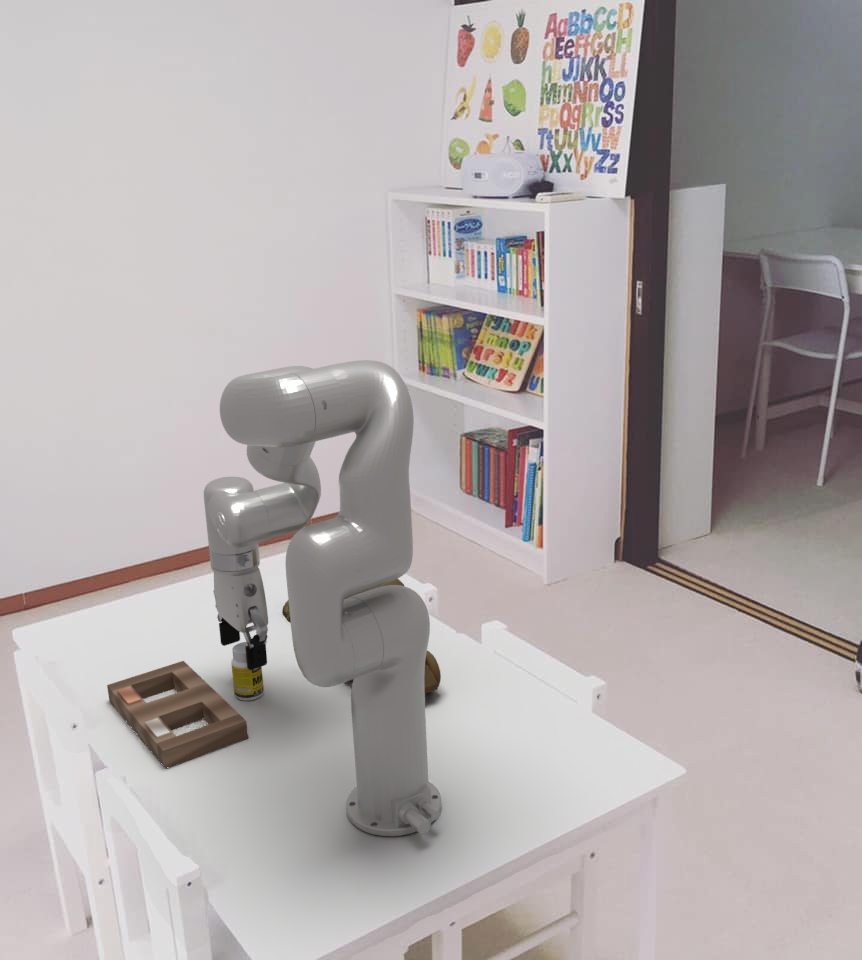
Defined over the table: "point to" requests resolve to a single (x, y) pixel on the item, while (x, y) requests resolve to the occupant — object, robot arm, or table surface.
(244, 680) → the supplement bottle
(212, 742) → the socket block
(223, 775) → the table surface
